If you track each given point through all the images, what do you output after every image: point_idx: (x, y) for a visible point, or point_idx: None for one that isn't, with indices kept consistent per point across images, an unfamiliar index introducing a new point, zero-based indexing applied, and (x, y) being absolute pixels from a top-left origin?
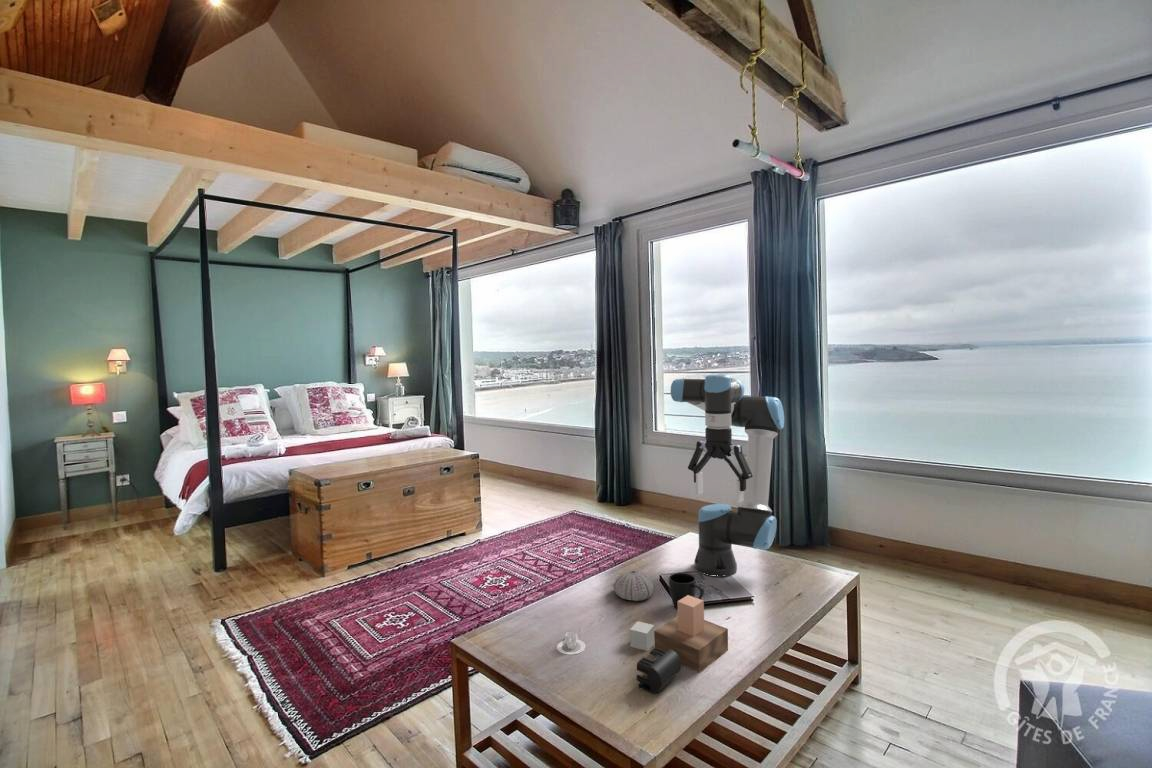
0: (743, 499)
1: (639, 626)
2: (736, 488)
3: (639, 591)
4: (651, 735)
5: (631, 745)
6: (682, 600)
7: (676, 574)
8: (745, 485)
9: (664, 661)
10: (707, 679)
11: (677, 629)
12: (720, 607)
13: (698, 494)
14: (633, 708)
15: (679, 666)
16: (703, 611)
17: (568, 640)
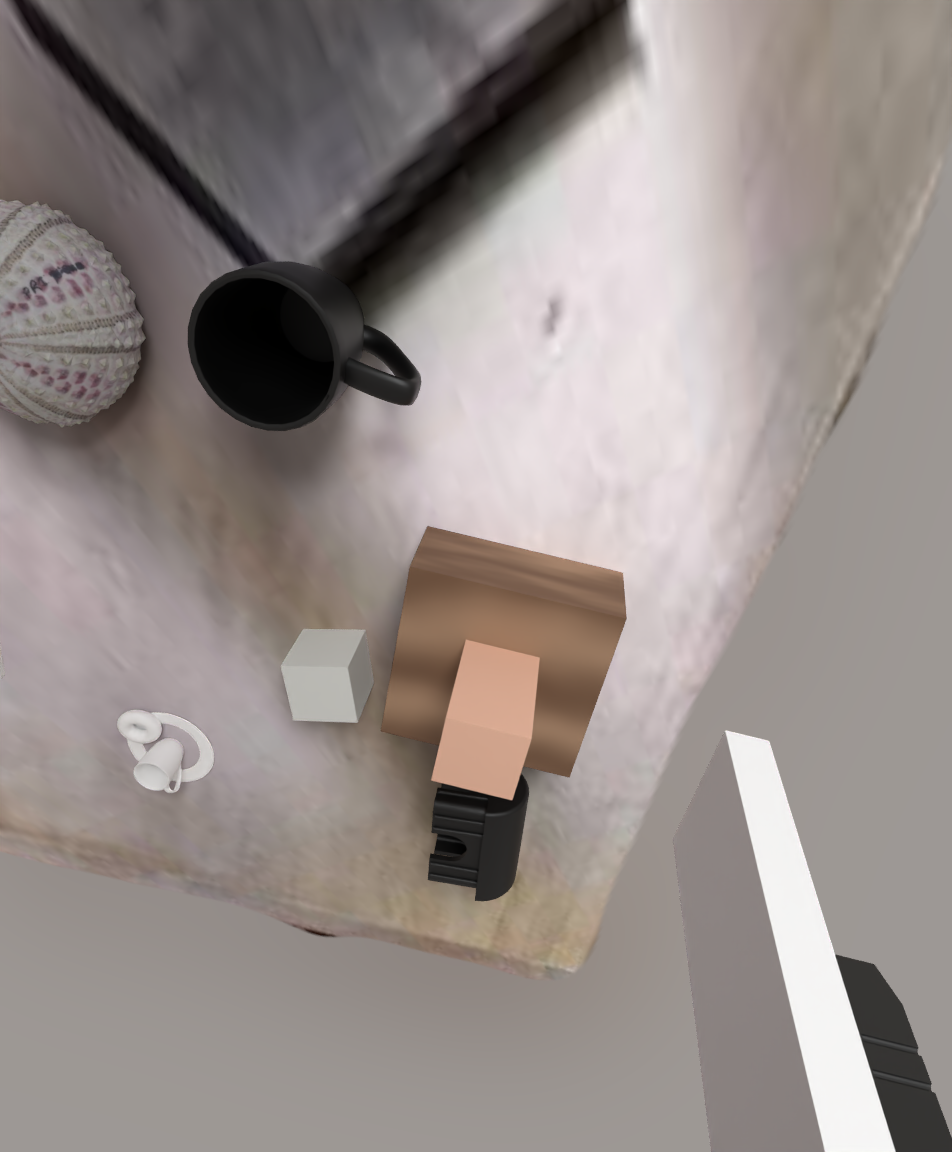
0: (771, 761)
1: (309, 693)
2: (702, 1071)
3: (104, 392)
4: (549, 936)
5: (524, 964)
6: (446, 766)
7: (204, 307)
8: (919, 1109)
9: (496, 863)
10: (603, 739)
11: (448, 695)
12: (483, 217)
13: (3, 674)
14: None
15: (527, 802)
16: (533, 707)
17: (162, 781)
